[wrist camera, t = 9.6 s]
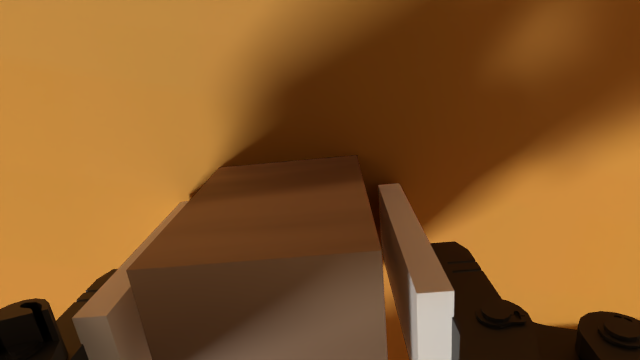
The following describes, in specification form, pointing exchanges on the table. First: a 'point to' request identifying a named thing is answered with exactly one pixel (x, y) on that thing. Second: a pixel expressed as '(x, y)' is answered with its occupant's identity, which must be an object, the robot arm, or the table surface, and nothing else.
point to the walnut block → (267, 268)
